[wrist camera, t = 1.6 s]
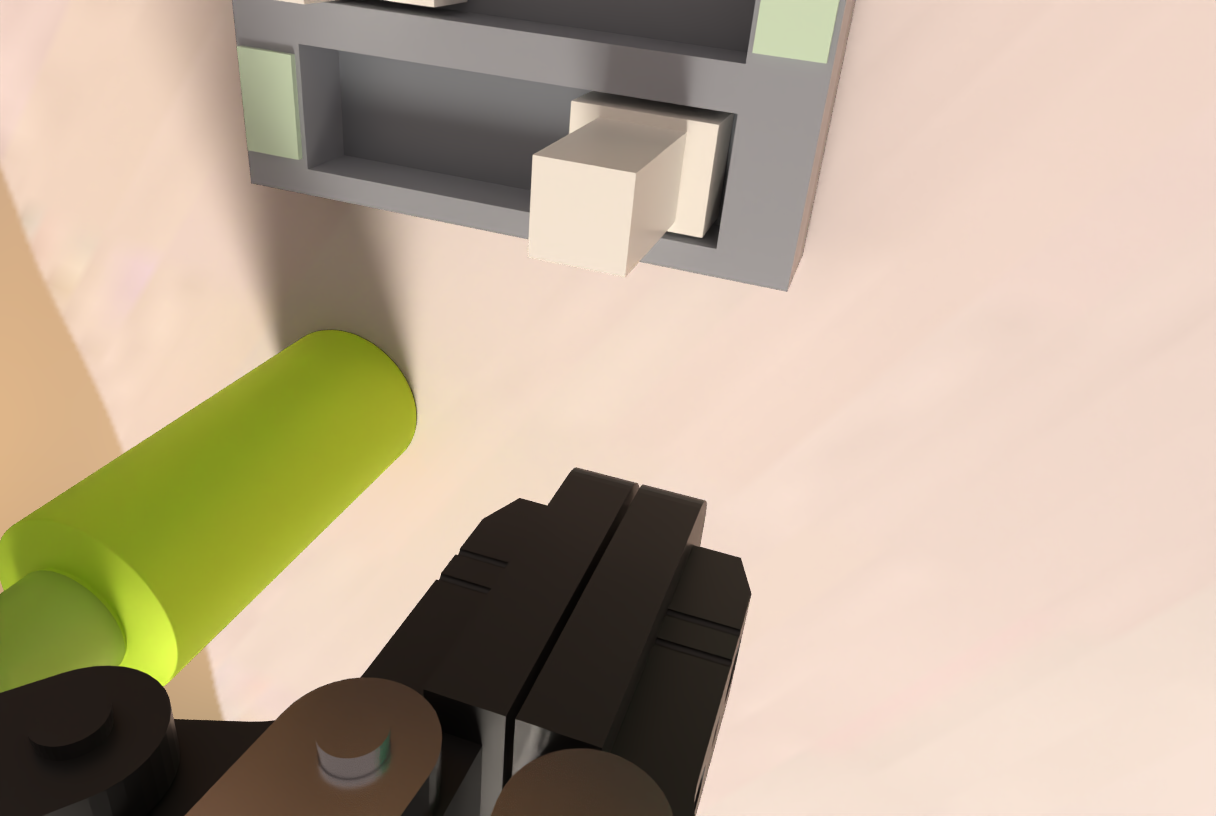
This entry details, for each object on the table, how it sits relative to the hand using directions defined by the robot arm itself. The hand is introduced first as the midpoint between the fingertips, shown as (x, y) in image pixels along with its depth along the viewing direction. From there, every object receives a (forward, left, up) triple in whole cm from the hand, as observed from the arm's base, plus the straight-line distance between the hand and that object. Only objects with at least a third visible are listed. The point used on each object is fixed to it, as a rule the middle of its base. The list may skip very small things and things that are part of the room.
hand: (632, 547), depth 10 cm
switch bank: (+8, -2, -19) cm, 21 cm away
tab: (+4, 0, -17) cm, 18 cm away
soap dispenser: (+16, +12, -19) cm, 28 cm away
